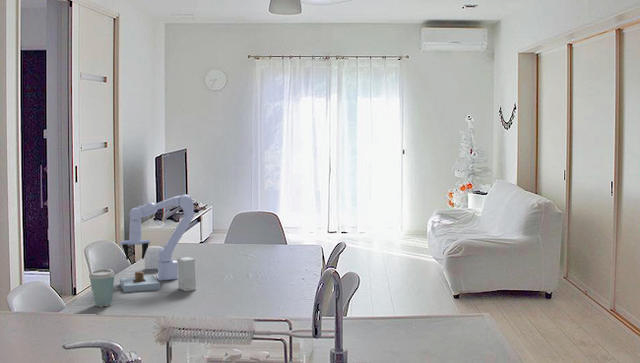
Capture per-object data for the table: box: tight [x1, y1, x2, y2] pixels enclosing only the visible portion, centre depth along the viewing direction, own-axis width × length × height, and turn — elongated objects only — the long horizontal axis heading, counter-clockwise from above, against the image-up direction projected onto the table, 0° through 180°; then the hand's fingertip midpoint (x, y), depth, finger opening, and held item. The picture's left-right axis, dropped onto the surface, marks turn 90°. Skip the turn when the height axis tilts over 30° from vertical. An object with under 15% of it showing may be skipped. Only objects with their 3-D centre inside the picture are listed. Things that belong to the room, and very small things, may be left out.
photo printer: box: [144, 245, 163, 270], centre depth 363 cm, size 10×4×12 cm, turn 98°
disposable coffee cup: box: [89, 268, 115, 308], centre depth 291 cm, size 11×11×15 cm
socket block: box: [119, 275, 160, 293], centre depth 325 cm, size 16×16×3 cm
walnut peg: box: [134, 271, 145, 282], centre depth 325 cm, size 4×4×7 cm
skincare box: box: [176, 256, 197, 292], centre depth 321 cm, size 8×6×15 cm
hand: (135, 258), depth 339 cm, fingers open, 7 cm apart
